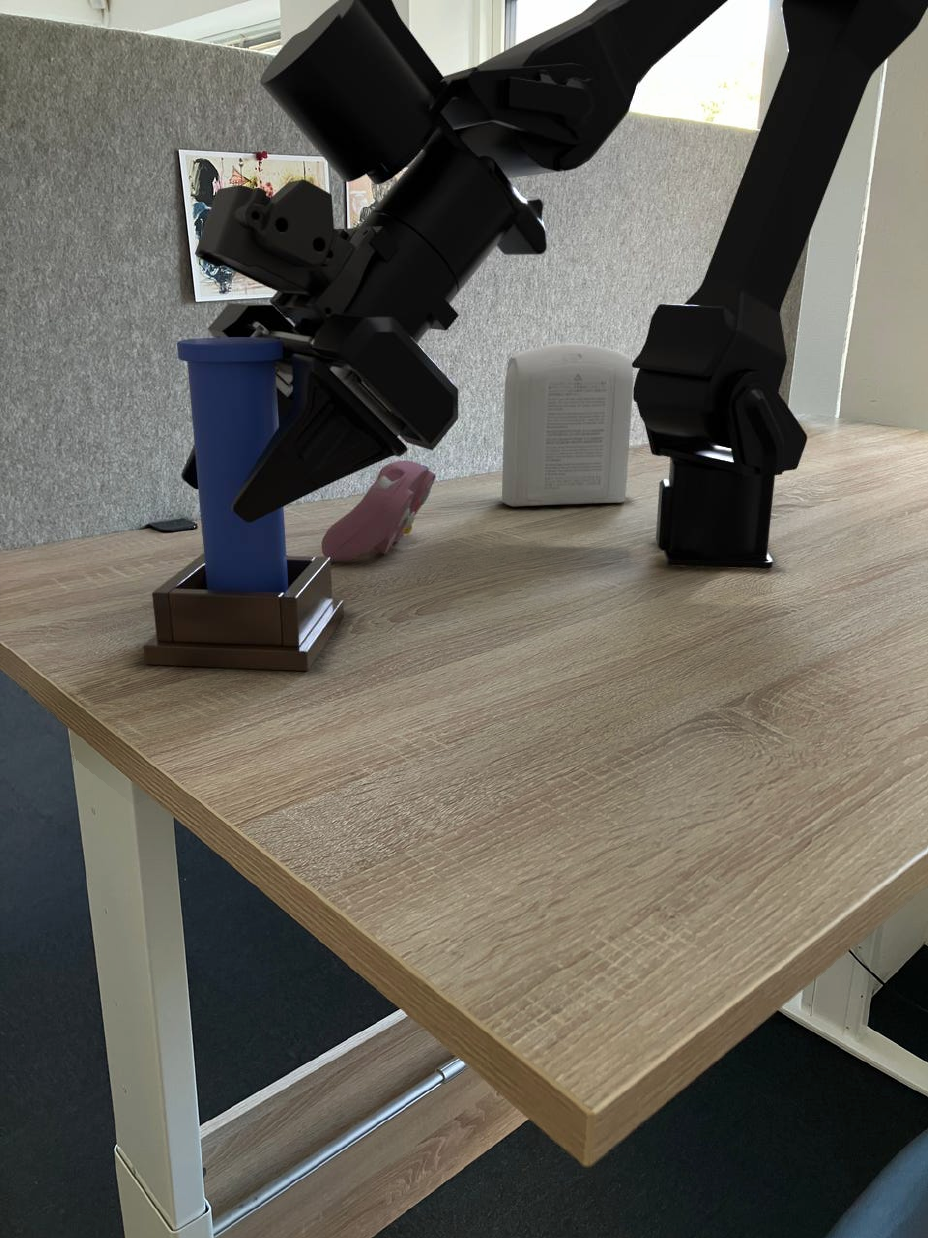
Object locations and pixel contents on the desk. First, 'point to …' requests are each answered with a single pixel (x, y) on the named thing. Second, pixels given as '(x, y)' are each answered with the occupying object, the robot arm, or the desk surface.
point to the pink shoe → (380, 512)
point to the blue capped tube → (235, 457)
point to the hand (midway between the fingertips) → (211, 498)
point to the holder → (245, 620)
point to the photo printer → (566, 425)
